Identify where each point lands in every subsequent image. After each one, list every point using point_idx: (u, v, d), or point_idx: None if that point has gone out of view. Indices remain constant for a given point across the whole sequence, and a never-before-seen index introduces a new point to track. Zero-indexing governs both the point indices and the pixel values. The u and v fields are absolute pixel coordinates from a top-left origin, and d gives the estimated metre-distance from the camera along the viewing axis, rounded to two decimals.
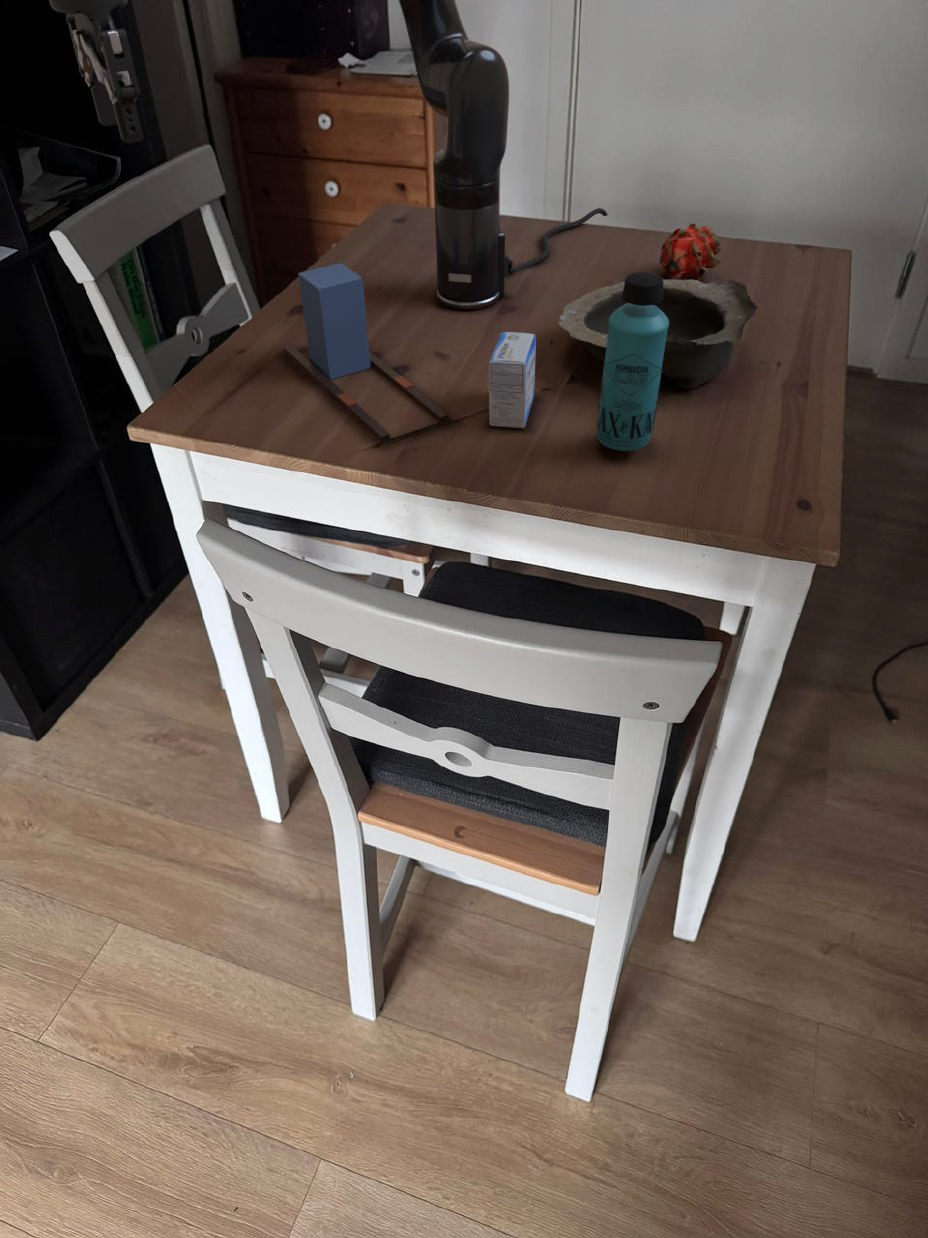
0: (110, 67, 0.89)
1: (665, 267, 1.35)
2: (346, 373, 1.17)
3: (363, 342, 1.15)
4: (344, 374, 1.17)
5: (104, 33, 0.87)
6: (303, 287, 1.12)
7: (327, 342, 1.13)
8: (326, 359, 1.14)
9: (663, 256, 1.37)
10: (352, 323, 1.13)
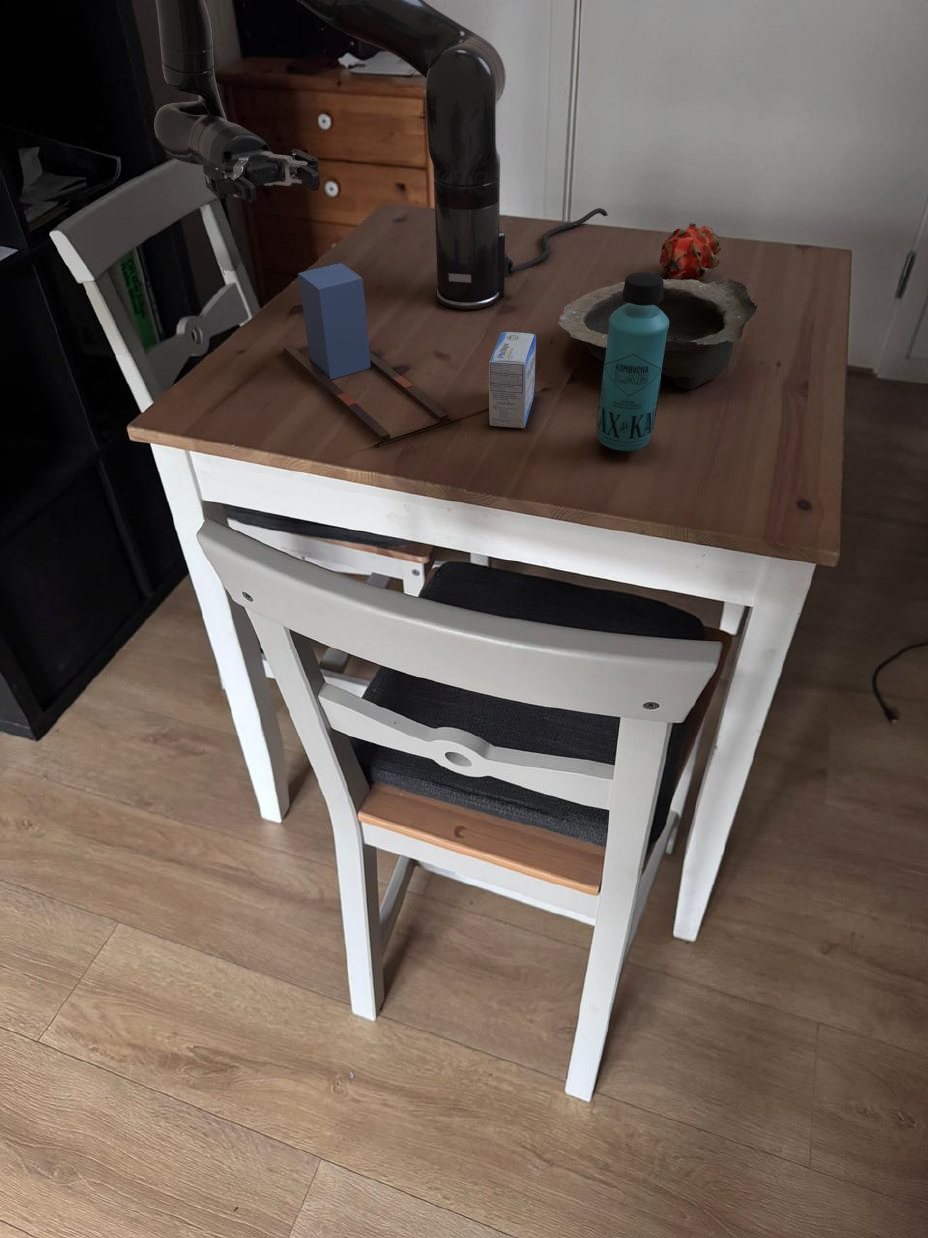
0: (212, 191, 1.15)
1: (665, 267, 1.35)
2: (346, 373, 1.17)
3: (363, 342, 1.15)
4: (344, 374, 1.17)
5: None
6: (303, 287, 1.12)
7: (327, 342, 1.13)
8: (326, 359, 1.14)
9: (663, 256, 1.37)
10: (352, 323, 1.13)
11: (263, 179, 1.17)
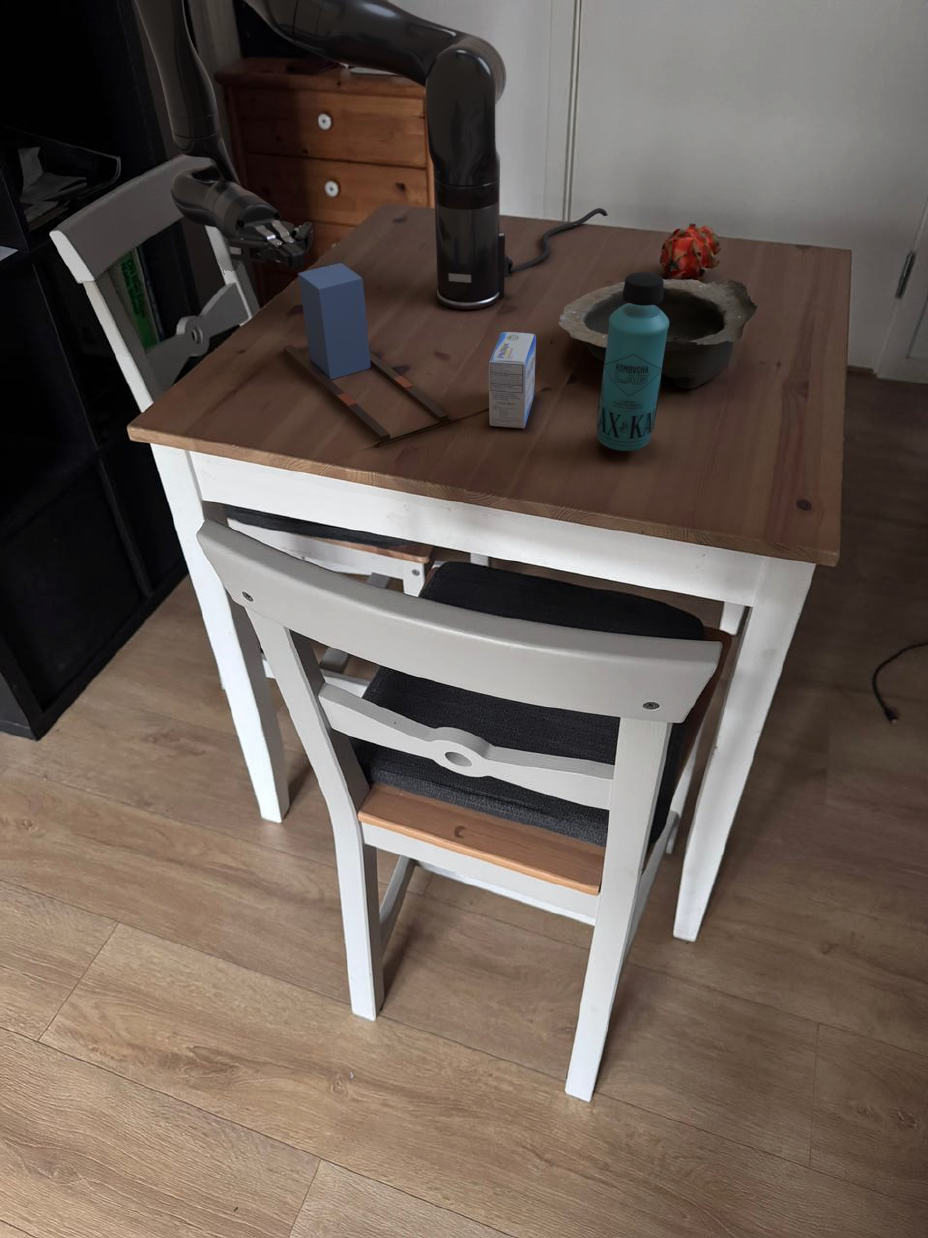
0: (248, 260, 1.21)
1: (665, 267, 1.35)
2: (346, 373, 1.17)
3: (363, 342, 1.15)
4: (344, 374, 1.17)
5: (230, 255, 1.21)
6: (303, 287, 1.12)
7: (327, 342, 1.13)
8: (326, 359, 1.14)
9: (663, 256, 1.37)
10: (352, 323, 1.13)
11: None
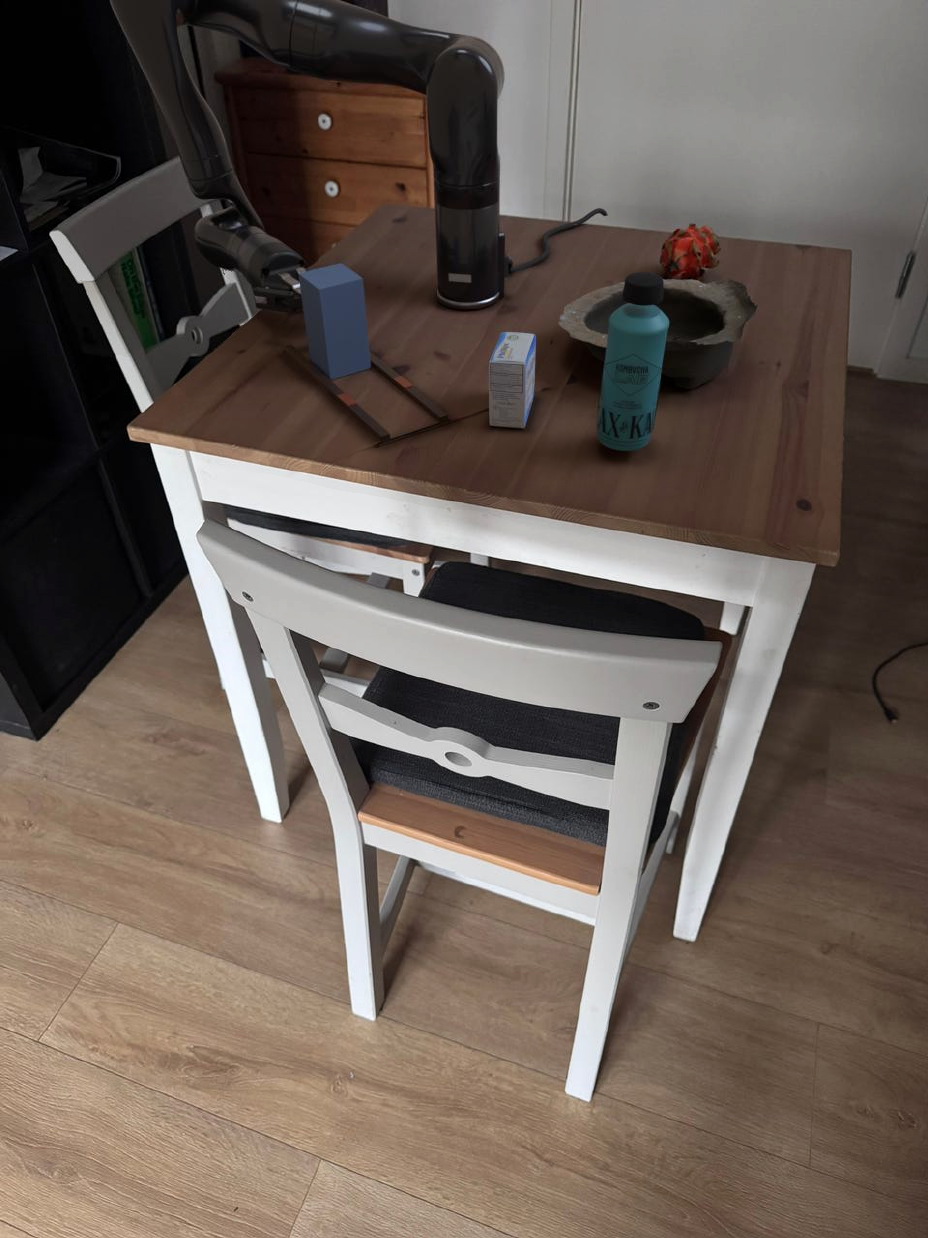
0: (274, 309, 1.20)
1: (665, 267, 1.35)
2: (346, 373, 1.17)
3: (363, 342, 1.15)
4: (344, 374, 1.17)
5: None
6: (303, 287, 1.12)
7: (328, 342, 1.13)
8: (327, 359, 1.14)
9: (663, 256, 1.37)
10: (352, 323, 1.13)
11: None
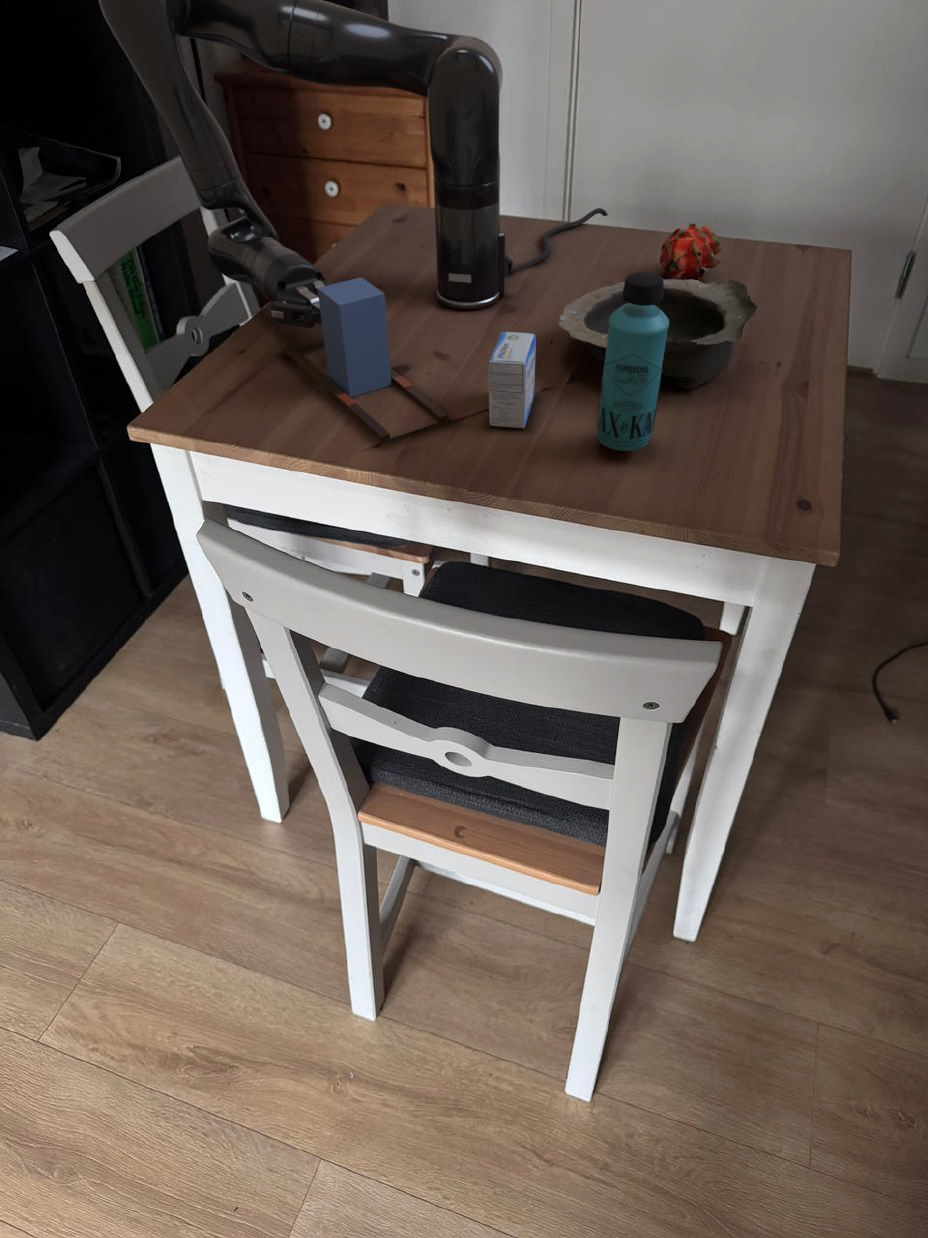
0: (291, 324, 1.16)
1: (665, 267, 1.35)
2: (366, 390, 1.13)
3: (384, 359, 1.12)
4: (364, 391, 1.13)
5: (272, 319, 1.17)
6: (323, 303, 1.08)
7: (348, 359, 1.09)
8: (346, 377, 1.11)
9: (663, 256, 1.37)
10: (373, 339, 1.09)
11: None
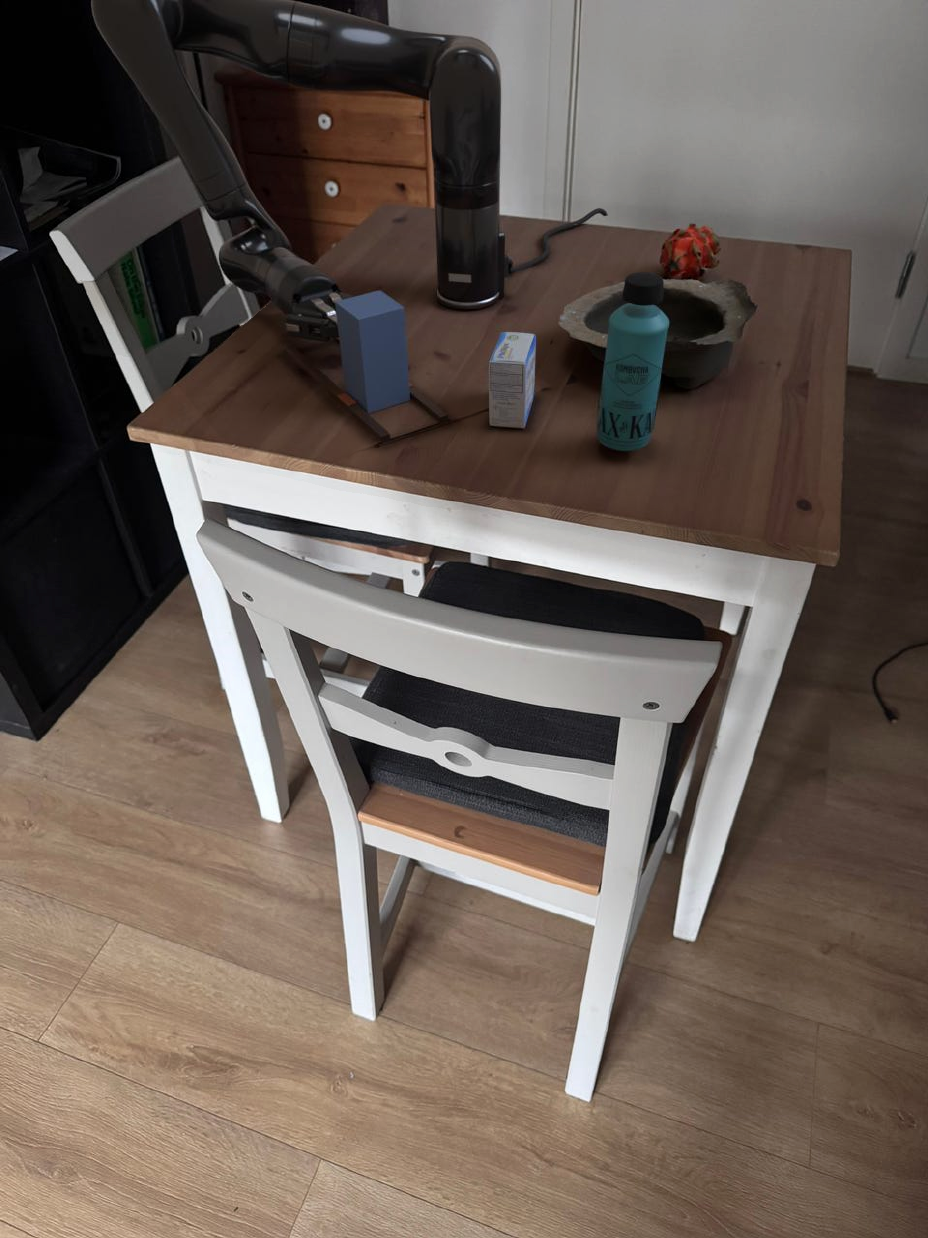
0: (307, 338, 1.13)
1: (665, 267, 1.35)
2: (384, 406, 1.10)
3: (403, 374, 1.09)
4: (382, 407, 1.10)
5: (287, 332, 1.14)
6: (340, 317, 1.05)
7: (366, 375, 1.06)
8: (364, 392, 1.08)
9: (663, 256, 1.37)
10: (392, 354, 1.06)
11: None
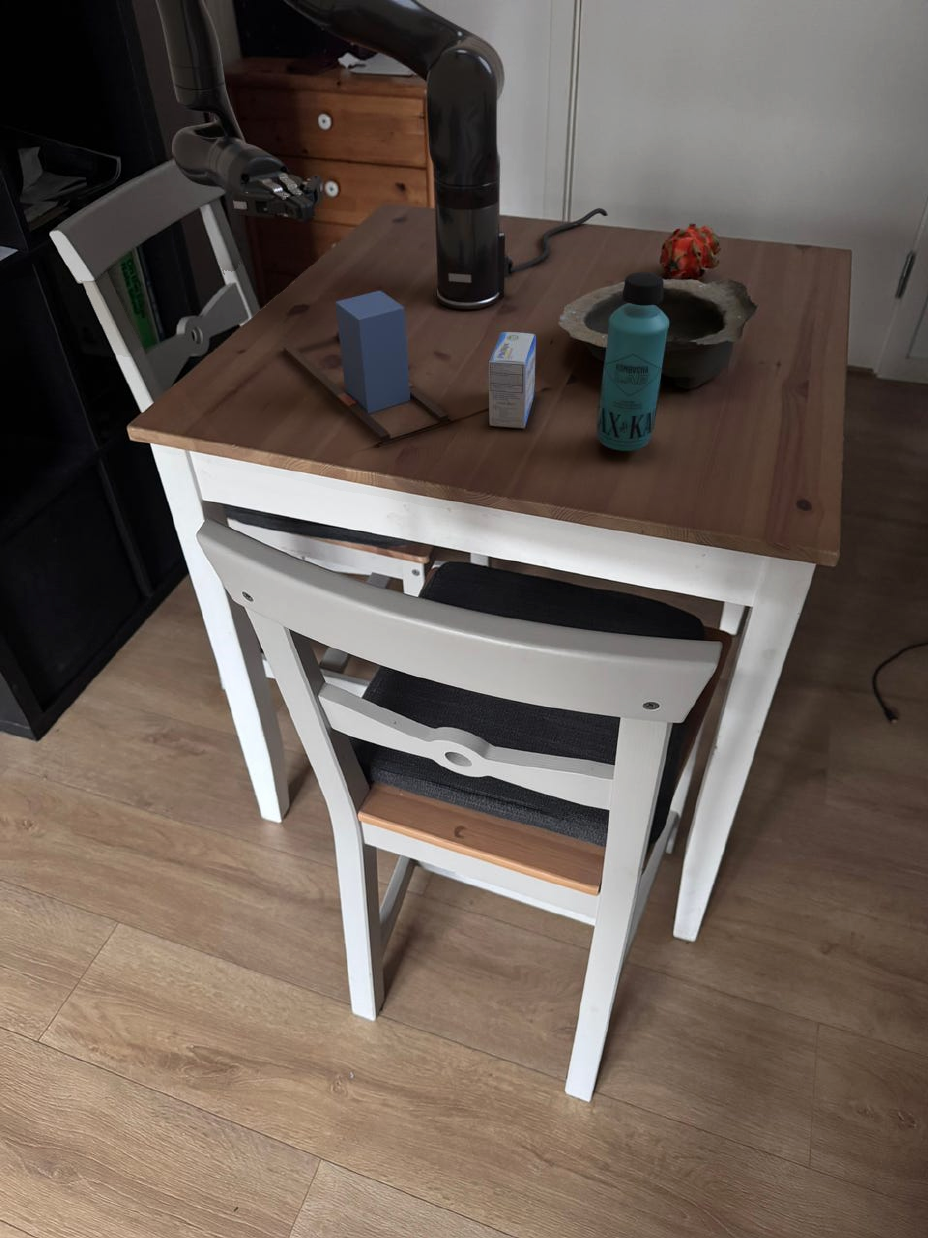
0: (254, 215, 1.13)
1: (665, 267, 1.35)
2: (384, 406, 1.10)
3: (403, 374, 1.09)
4: (382, 408, 1.10)
5: (235, 210, 1.14)
6: (341, 317, 1.05)
7: (366, 375, 1.06)
8: (365, 393, 1.08)
9: (663, 256, 1.37)
10: (392, 354, 1.06)
11: None
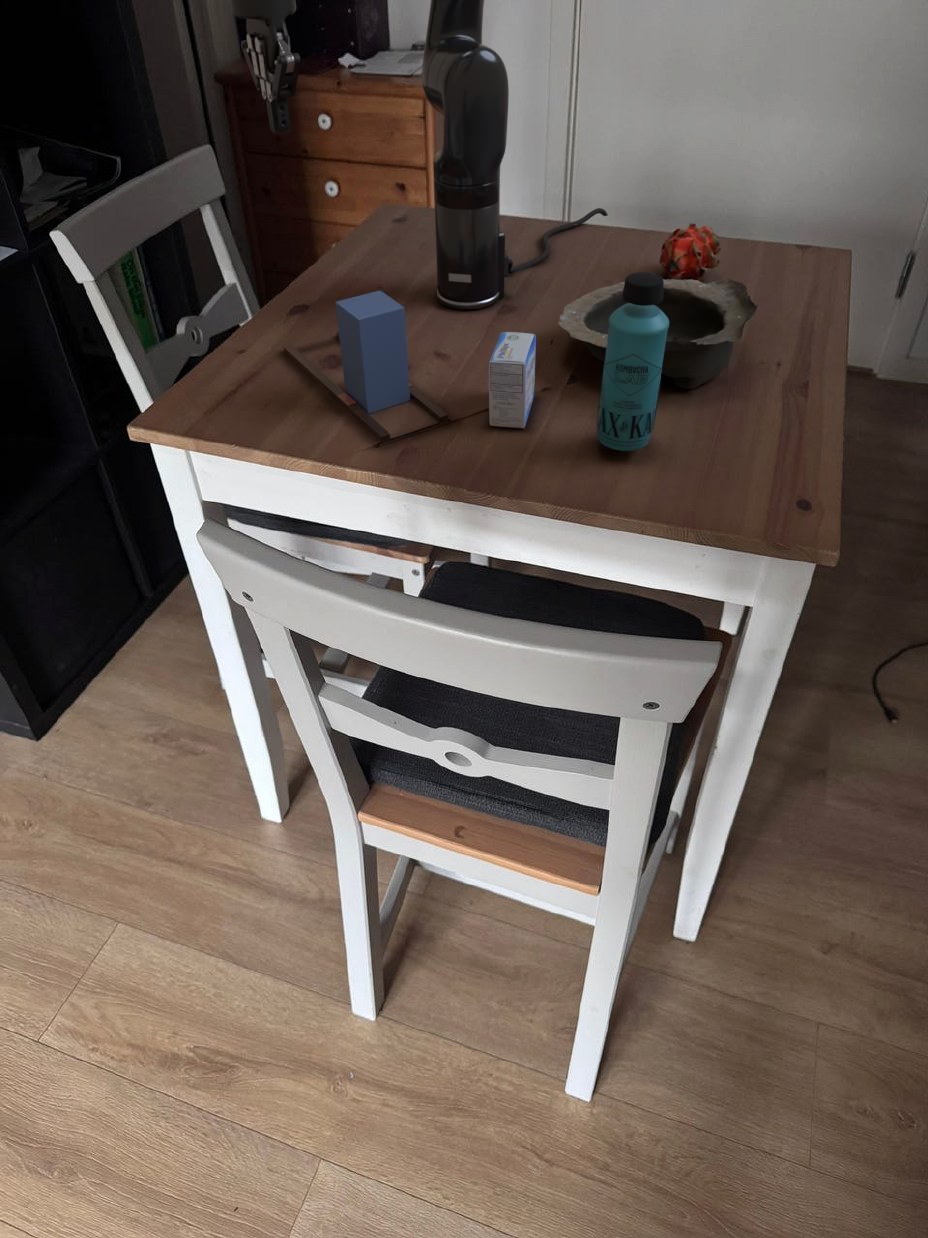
0: (279, 82, 1.06)
1: (665, 267, 1.35)
2: (384, 406, 1.10)
3: (403, 374, 1.09)
4: (382, 408, 1.10)
5: (284, 61, 1.03)
6: (341, 317, 1.05)
7: (366, 375, 1.06)
8: (365, 393, 1.08)
9: (663, 256, 1.37)
10: (392, 354, 1.06)
11: None
